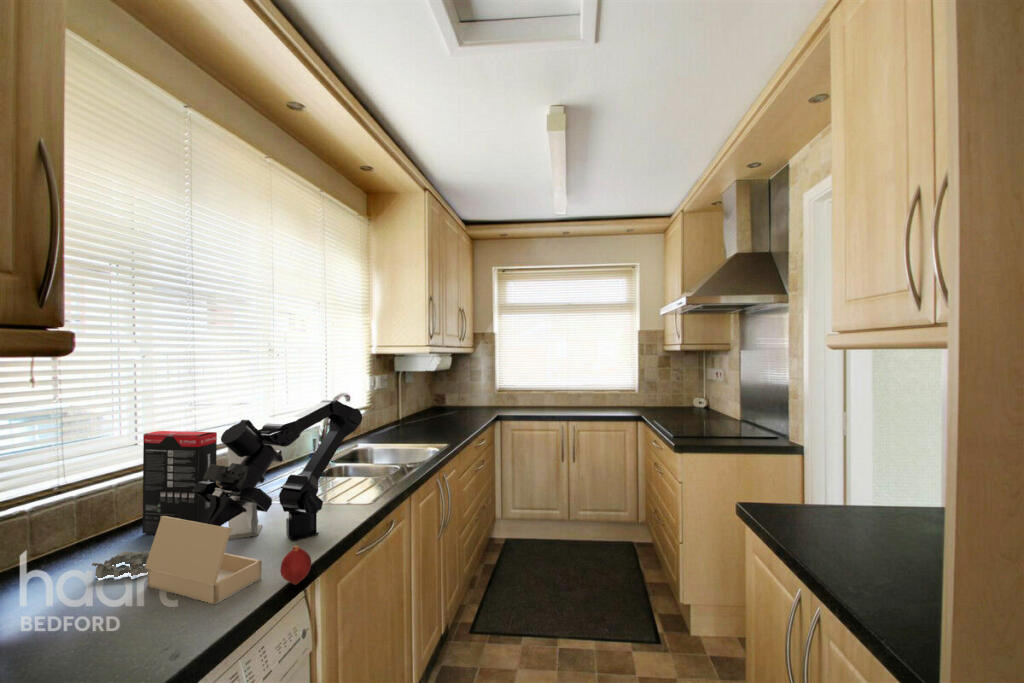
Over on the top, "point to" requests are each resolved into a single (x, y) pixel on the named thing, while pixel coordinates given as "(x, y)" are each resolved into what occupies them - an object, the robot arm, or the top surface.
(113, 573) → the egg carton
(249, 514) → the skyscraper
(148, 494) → the graphics card box
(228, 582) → the mailer box
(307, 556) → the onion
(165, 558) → the lid
